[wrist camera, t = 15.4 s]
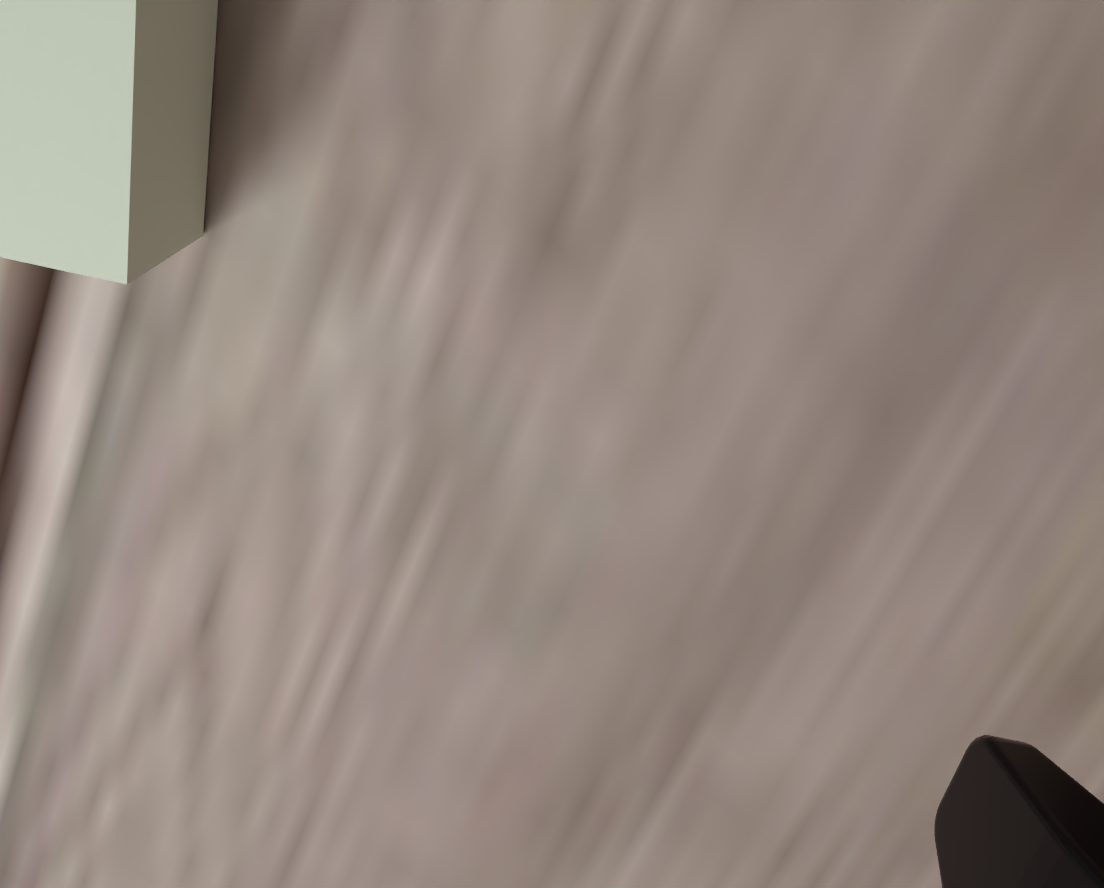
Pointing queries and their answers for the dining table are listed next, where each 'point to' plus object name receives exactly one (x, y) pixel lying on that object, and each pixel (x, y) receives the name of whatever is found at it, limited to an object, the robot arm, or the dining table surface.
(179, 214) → the socket block
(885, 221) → the dining table surface
